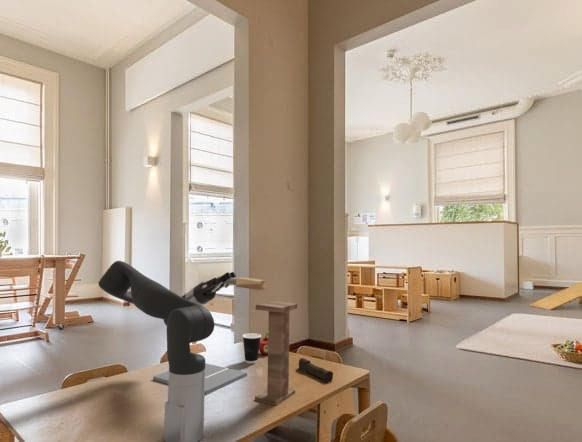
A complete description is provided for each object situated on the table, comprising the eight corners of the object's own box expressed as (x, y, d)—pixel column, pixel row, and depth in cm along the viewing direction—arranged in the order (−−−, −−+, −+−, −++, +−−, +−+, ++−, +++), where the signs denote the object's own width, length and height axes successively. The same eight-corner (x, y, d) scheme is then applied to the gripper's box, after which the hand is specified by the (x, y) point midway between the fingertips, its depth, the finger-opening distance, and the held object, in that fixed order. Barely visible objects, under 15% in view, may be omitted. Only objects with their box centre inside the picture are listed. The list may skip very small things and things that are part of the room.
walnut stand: (278, 406, 122) (279, 308, 124) (252, 399, 127) (253, 305, 129) (297, 393, 132) (298, 303, 134) (272, 387, 137) (274, 300, 139)
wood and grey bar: (259, 290, 133) (259, 281, 133) (216, 283, 142) (216, 275, 143) (265, 288, 136) (266, 280, 136) (223, 282, 146) (224, 274, 146)
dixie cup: (259, 358, 172) (259, 332, 172) (262, 364, 164) (262, 337, 164) (241, 359, 170) (241, 333, 170) (242, 365, 162) (243, 338, 163)
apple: (270, 356, 175) (270, 333, 175) (255, 355, 176) (255, 333, 176) (273, 352, 182) (274, 330, 183) (259, 351, 183) (259, 329, 184)
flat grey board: (206, 394, 130) (206, 390, 130) (153, 379, 144) (153, 376, 144) (246, 375, 149) (246, 372, 149) (196, 364, 163) (196, 360, 163)
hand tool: (333, 381, 145) (333, 368, 145) (325, 383, 143) (325, 370, 143) (304, 367, 161) (304, 356, 161) (296, 369, 159) (296, 357, 159)
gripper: (183, 287, 144) (215, 265, 137) (209, 284, 156) (240, 264, 149) (190, 306, 142) (223, 285, 135) (216, 302, 154) (247, 282, 146)
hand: (232, 274), depth 142 cm, fingers closed on wood and grey bar, 2 cm apart
